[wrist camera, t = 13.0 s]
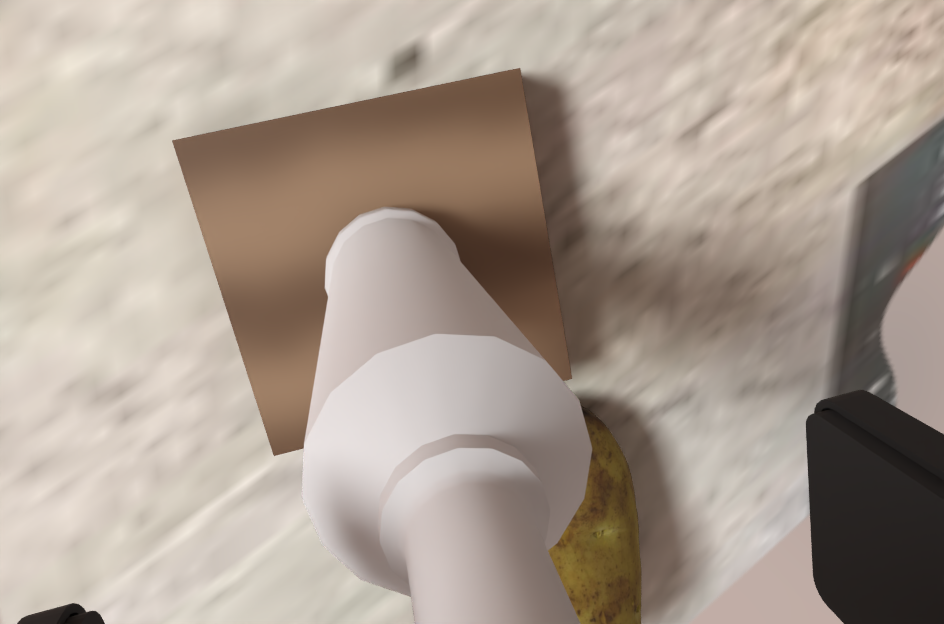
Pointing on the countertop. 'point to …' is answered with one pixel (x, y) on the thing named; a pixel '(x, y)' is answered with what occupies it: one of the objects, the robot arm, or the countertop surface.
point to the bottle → (438, 433)
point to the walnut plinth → (359, 191)
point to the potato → (603, 539)
